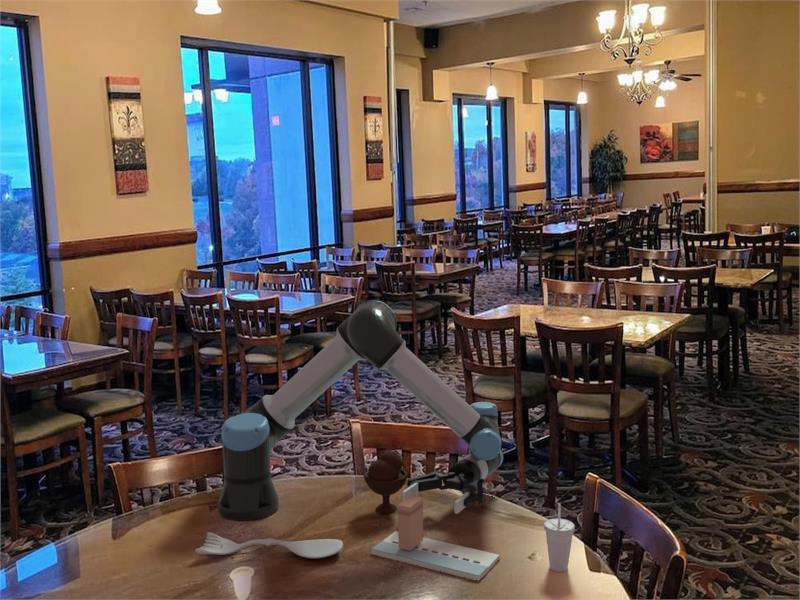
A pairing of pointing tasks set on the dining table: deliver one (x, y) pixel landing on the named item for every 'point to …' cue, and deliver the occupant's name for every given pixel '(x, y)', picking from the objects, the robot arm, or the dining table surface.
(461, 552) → the board
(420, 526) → the small tan carton
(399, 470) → the ice cream bowl
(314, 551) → the spoon
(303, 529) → the dining table surface
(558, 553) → the smoothie
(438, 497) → the dining table surface
